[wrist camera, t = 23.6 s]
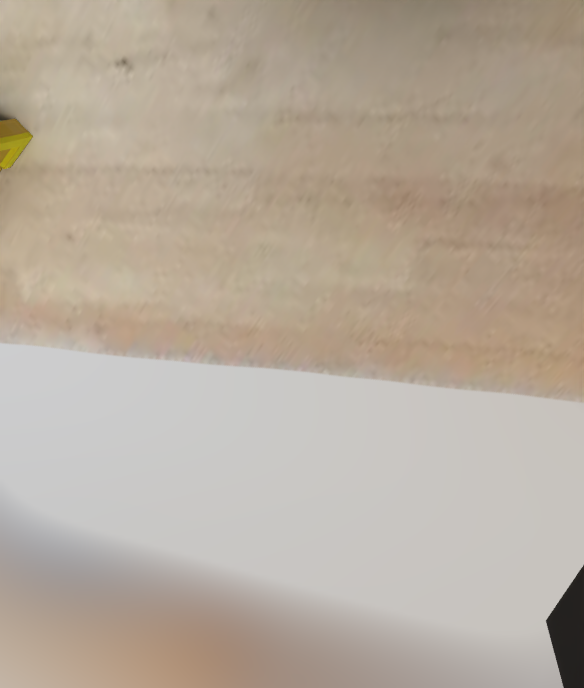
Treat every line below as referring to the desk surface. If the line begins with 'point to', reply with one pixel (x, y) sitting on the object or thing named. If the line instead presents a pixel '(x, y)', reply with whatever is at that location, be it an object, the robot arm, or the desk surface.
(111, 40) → the desk surface
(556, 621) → the robot arm
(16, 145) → the book
